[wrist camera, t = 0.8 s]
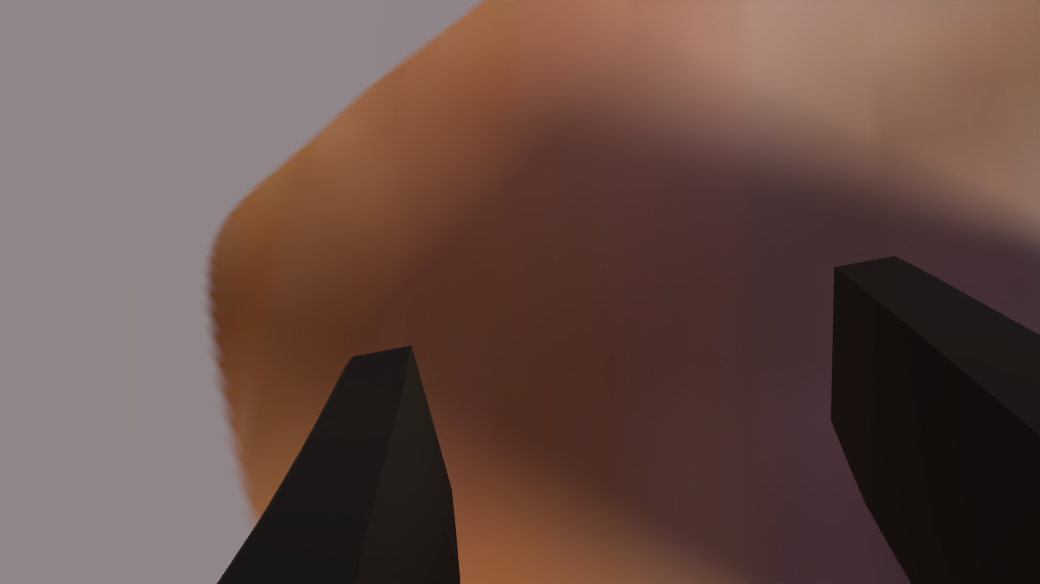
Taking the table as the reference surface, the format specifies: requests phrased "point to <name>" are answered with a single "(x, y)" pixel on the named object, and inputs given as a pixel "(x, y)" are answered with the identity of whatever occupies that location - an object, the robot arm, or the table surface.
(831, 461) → the table surface
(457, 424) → the table surface
